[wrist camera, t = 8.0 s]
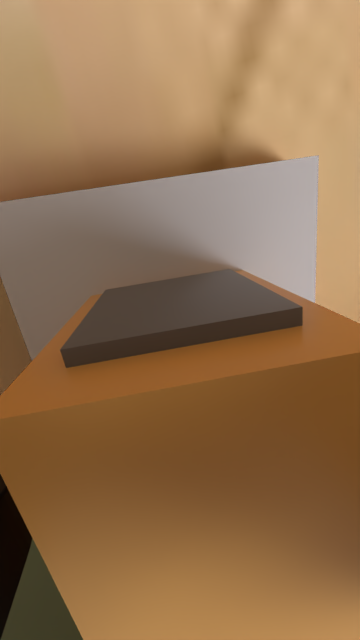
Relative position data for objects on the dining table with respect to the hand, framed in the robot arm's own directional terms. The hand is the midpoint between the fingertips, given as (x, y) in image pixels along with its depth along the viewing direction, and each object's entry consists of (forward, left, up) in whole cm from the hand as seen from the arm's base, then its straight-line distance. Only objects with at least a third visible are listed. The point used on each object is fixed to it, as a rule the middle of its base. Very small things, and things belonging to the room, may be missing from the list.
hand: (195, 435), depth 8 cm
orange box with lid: (0, 0, -2) cm, 2 cm away
